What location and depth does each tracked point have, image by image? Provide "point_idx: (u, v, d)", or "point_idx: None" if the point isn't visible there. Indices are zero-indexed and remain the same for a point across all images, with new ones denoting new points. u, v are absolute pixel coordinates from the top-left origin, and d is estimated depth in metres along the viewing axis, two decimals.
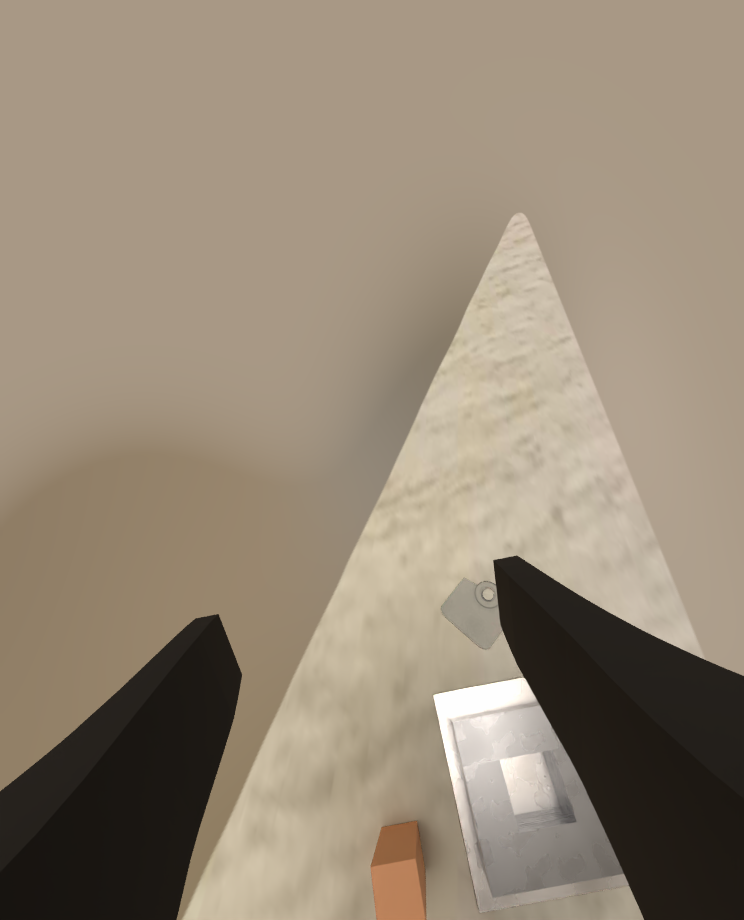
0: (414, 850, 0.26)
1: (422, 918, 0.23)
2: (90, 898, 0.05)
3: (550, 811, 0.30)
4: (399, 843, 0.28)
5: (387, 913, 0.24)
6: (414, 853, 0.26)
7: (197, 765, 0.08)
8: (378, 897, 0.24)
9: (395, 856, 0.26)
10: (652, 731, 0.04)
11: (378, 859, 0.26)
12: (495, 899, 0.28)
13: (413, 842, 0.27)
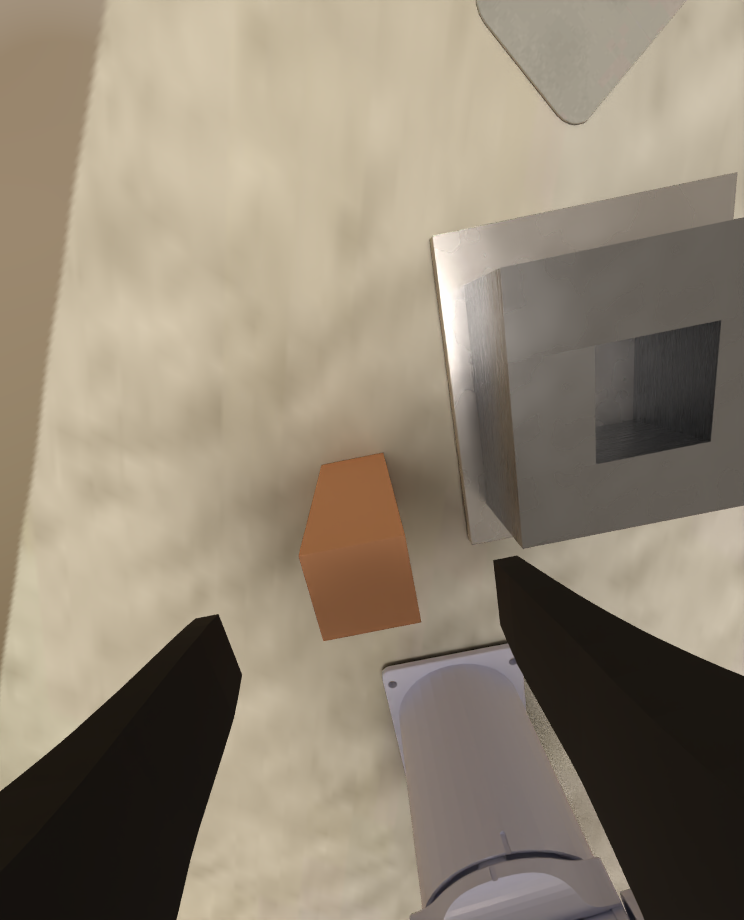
0: (395, 512, 0.12)
1: (414, 613, 0.11)
2: (90, 898, 0.05)
3: (623, 427, 0.17)
4: (358, 495, 0.14)
5: (340, 614, 0.11)
6: (397, 520, 0.11)
7: (197, 765, 0.08)
8: (320, 596, 0.11)
9: (354, 527, 0.11)
10: (653, 731, 0.04)
11: (317, 534, 0.12)
12: (498, 530, 0.19)
13: (387, 493, 0.13)
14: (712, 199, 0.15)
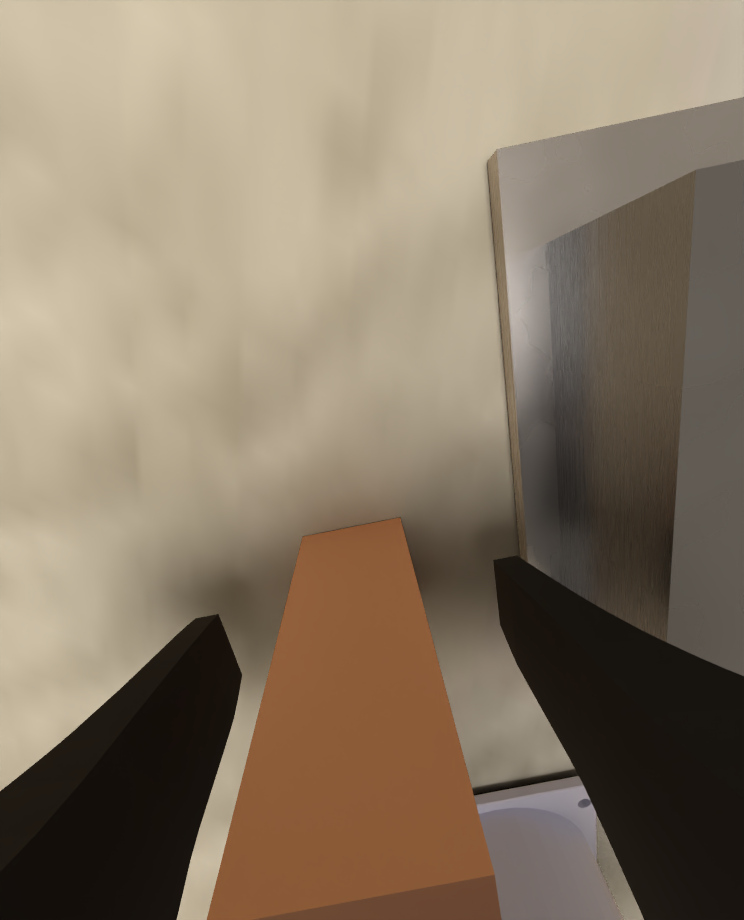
0: (449, 733, 0.05)
1: None
2: (90, 898, 0.05)
3: None
4: (363, 642, 0.07)
5: None
6: (460, 776, 0.05)
7: (197, 765, 0.08)
8: None
9: (356, 785, 0.05)
10: (653, 731, 0.04)
11: (267, 798, 0.05)
12: None
13: (421, 642, 0.07)
14: None
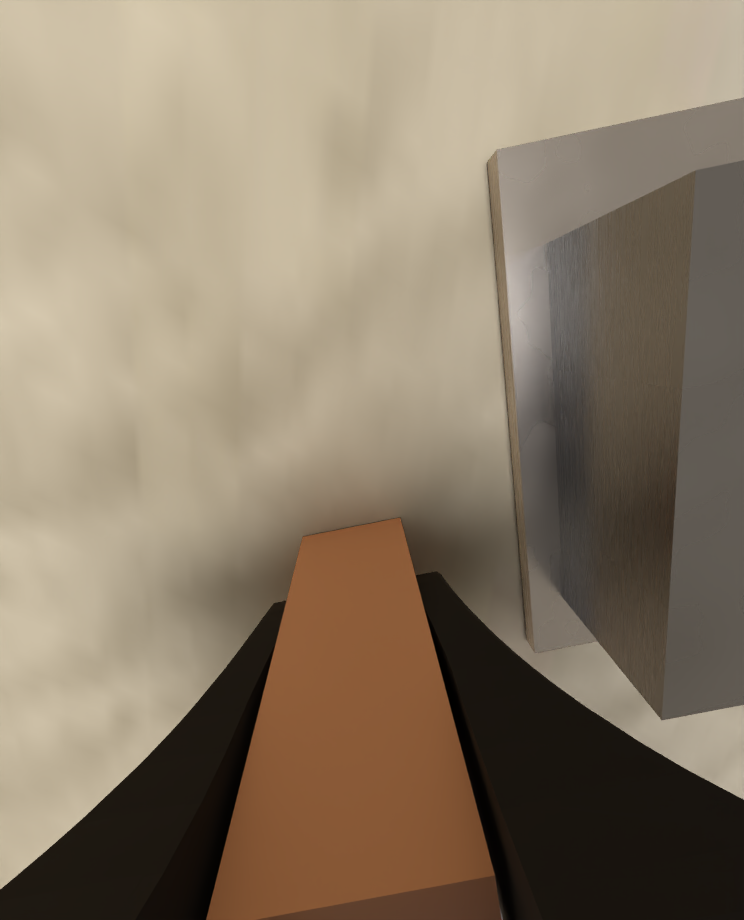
0: (449, 733, 0.05)
1: None
2: None
3: None
4: (363, 642, 0.07)
5: None
6: (460, 776, 0.05)
7: None
8: None
9: (356, 785, 0.05)
10: (482, 764, 0.04)
11: (267, 798, 0.05)
12: (575, 632, 0.12)
13: (421, 643, 0.07)
14: None
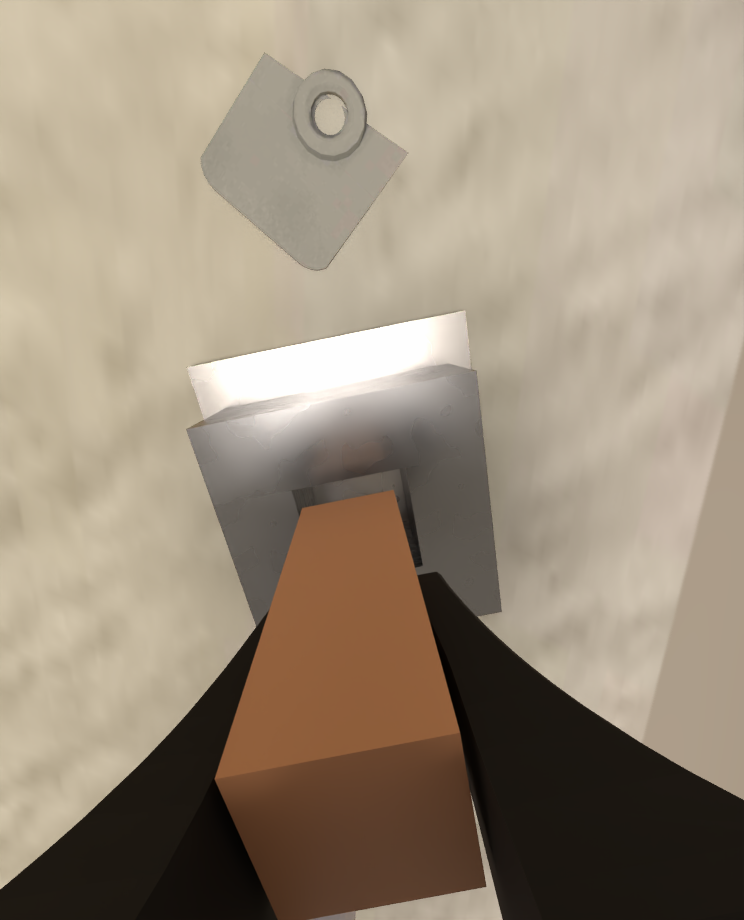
0: (428, 643, 0.06)
1: (471, 873, 0.05)
2: (239, 870, 0.05)
3: None
4: (356, 583, 0.08)
5: (315, 880, 0.05)
6: (436, 671, 0.05)
7: None
8: (268, 851, 0.05)
9: (345, 680, 0.06)
10: (481, 763, 0.04)
11: (268, 693, 0.06)
12: None
13: (407, 581, 0.08)
14: (445, 333, 0.16)
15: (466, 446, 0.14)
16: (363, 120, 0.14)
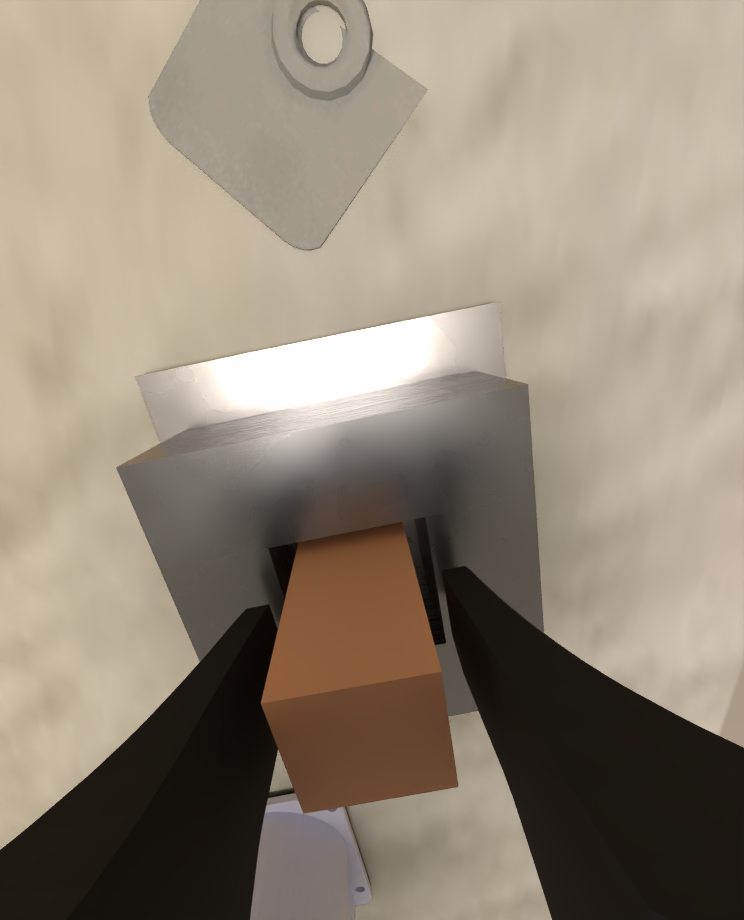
0: (419, 609, 0.08)
1: (447, 776, 0.07)
2: (186, 880, 0.05)
3: None
4: (360, 562, 0.09)
5: (331, 780, 0.07)
6: (425, 629, 0.07)
7: (260, 753, 0.08)
8: (297, 757, 0.07)
9: (355, 636, 0.07)
10: (542, 751, 0.04)
11: (294, 645, 0.07)
12: None
13: (403, 561, 0.09)
14: (473, 331, 0.12)
15: (509, 488, 0.10)
16: (368, 41, 0.10)
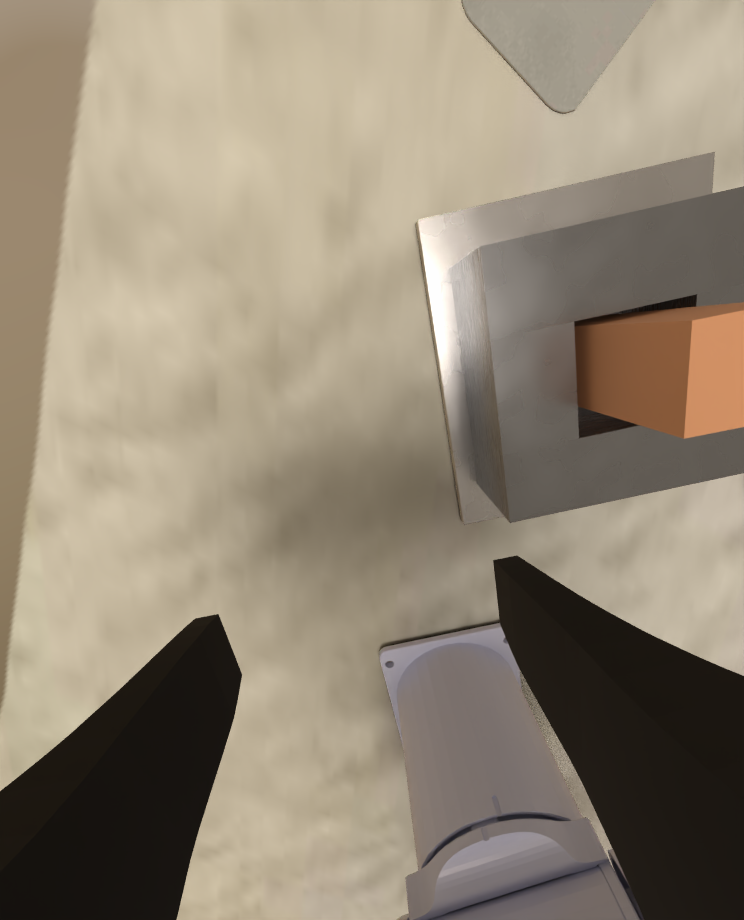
0: None
1: None
2: (90, 898, 0.05)
3: None
4: (657, 314, 0.12)
5: (713, 403, 0.10)
6: None
7: (197, 765, 0.08)
8: (698, 377, 0.10)
9: (718, 310, 0.10)
10: (653, 731, 0.04)
11: (673, 319, 0.10)
12: (489, 510, 0.19)
13: (695, 308, 0.12)
14: (690, 179, 0.15)
15: None
16: None
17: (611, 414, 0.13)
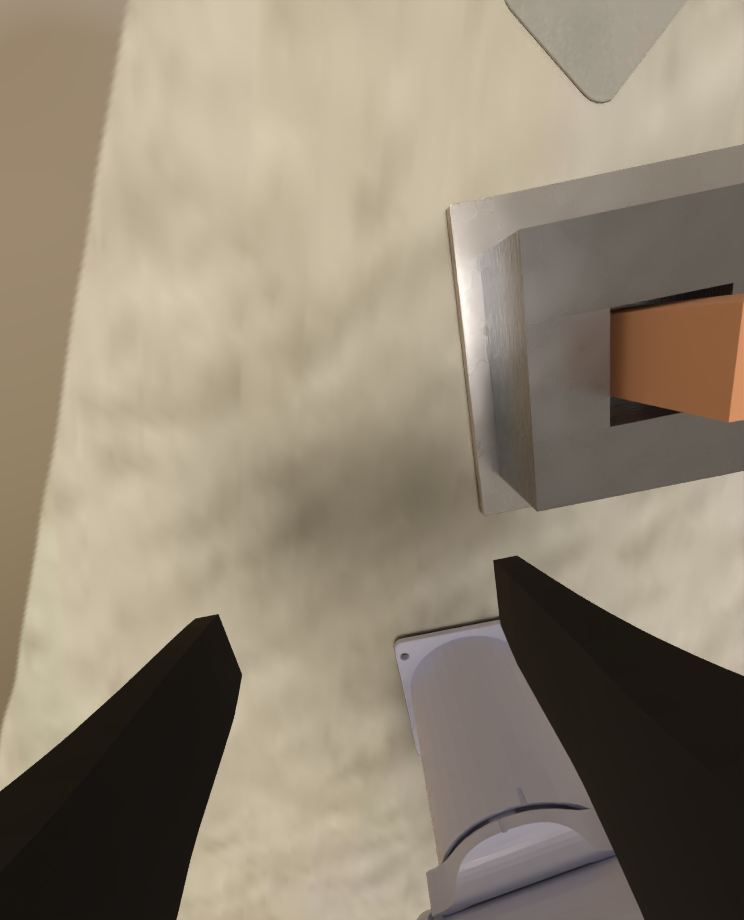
0: None
1: None
2: (90, 898, 0.05)
3: None
4: (695, 301, 0.12)
5: None
6: None
7: (197, 765, 0.08)
8: None
9: None
10: (653, 731, 0.04)
11: (719, 302, 0.10)
12: (509, 501, 0.19)
13: (733, 295, 0.12)
14: (722, 170, 0.15)
15: None
16: None
17: (646, 401, 0.13)
